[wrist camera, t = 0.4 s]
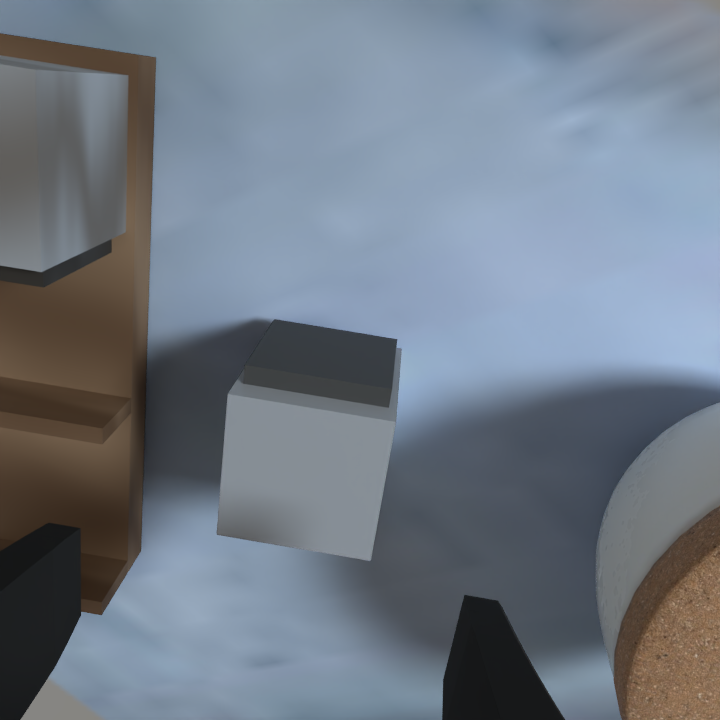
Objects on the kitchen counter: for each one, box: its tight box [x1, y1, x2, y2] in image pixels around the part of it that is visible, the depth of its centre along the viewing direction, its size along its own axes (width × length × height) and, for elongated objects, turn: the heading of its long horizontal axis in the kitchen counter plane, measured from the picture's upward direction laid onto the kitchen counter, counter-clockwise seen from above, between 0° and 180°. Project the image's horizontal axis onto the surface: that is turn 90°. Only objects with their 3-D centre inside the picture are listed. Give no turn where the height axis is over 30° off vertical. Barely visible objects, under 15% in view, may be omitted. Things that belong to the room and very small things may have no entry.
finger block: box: [217, 319, 402, 561], centre depth 19 cm, size 4×4×5 cm
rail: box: [0, 33, 156, 615], centre depth 19 cm, size 16×4×6 cm, turn 172°
